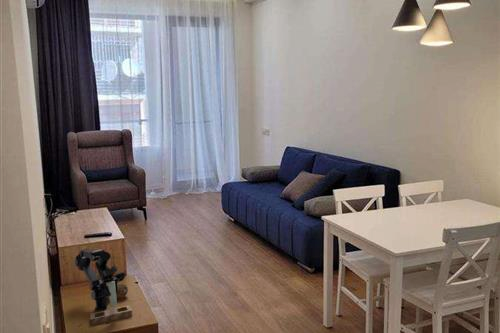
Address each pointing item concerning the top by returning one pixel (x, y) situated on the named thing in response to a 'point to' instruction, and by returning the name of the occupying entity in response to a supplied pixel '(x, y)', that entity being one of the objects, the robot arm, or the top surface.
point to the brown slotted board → (111, 314)
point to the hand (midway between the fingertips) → (113, 294)
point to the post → (112, 294)
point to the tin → (120, 291)
